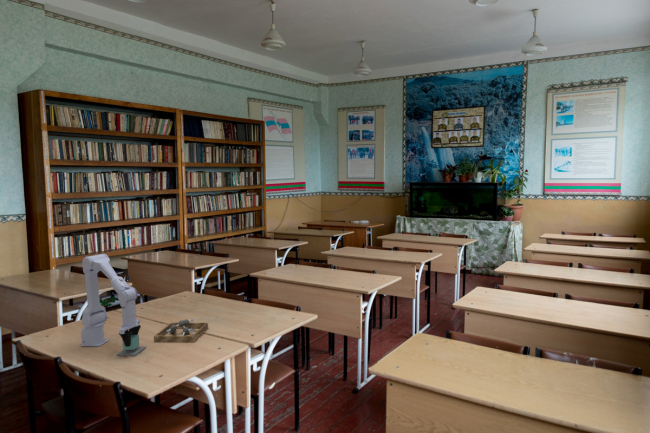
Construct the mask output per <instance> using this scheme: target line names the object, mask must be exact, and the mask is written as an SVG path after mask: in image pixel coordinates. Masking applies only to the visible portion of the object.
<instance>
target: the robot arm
mask: <svg viewBox="0 0 650 433" xmlns="http://www.w3.org/2000/svg"><path fill="white" fill-rule="evenodd" d="M81 265H82V271H83V273H84V282H85V290H86V292H85V293H86V300H87V302H86V303H87V307H86V308H85V309H84V310H83V311H82V318H81V322H82V323H81V324H82V325H83V326H82V328H81V332H80V338H81V345H80V346H81V347H100V346H101V347H102V345H103V344H105V343H107V342H108V341H109V338H108V339H107V338H106V339H105V327H104V325H105V324H106V322H107V320H108V314H107V311H106V307H104V306H102V305H101V302H100V301H101V300H100V299H101V298H100V288H99V281H98V280H99V279H98V273H99V272H102V273H103V274H104V275H105V277H107V279H109V280H110V286H111V287H112V289H113V290H114V291H115V292H116V294H117V299H118V302H119V305H120V307H121V318H122V325H121V327H120V329H119V330H118V335H119V336H120V337H121V339H122V343H123V342H124V344H125V346H126V347H129V346H130V345H131V336H132V335H139V332H140V329H141V324H140V323H141V320H140V319H139V318H137V310H136V309H137V308H136V300H137V298H138V296H139V295H138V294H139V293H138V290H137V289H136V288H135V287H133V286H131V285H129V284H128V283H127V282H126V280H125V279H124V278H123V277H122V276H118V274H117V272H116V271H115V270H114V268H113V266H112V265H111V259H110V257H109V256H108V254H106V253H100V254H96V255H95V254H94V255H90V256H89V255H88V256H85V257H84V258H83V259H82V264H81Z"/></svg>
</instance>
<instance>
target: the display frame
mask: <svg viewBox="0 0 650 433" xmlns="http://www.w3.org/2000/svg"><path fill="white" fill-rule="evenodd" d="M173 324H174V325H178V324H179V321H177V322H170V323H168V325H166V326H165V327H163V328H162V329H161V330H159V332H157V333H156V334H155V335H154V336H153V343H195V342H196V341H197V340H198V339H199V338H200V337H202V335H203V334H204V333H205V332H206V331H208V329H209V322H189V325H188V326H185V327H188V328H189V329H192V330H195V329H196V330H197V331H196V332H195V333H194V334H193V335H184V336H182V335H167V334H168V333H167V332H166V331H167V330H169V329H170V327H171V325H173ZM178 329H181V330H182V329H184V327H180V326H177V329H176V330H178ZM166 333H167V334H166Z"/></svg>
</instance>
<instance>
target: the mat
mask: <svg viewBox="0 0 650 433" xmlns="http://www.w3.org/2000/svg"><path fill="white" fill-rule="evenodd" d="M146 348H147V347H146V346H138V347H137V348H135V349H134V350H123V349H122V350H121V351H119V352H117V353H116V356H117V357H137V356H138V355H140V354H141V353H142V352H143V351H144V350H146Z"/></svg>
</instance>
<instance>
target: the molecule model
mask: <svg viewBox="0 0 650 433" xmlns="http://www.w3.org/2000/svg"><path fill="white" fill-rule="evenodd" d="M178 322H179V324H178V325H174V324H173V325H171V327H170V329H169V330H167V331H166V332H167V334H168V333H171V334H174V333H176V331H177V330H178V329H177V326H180V327H184V329H183V330H182V332H183V333H182V334H181V336H185V334H189V333H191V332H193V333H194V329H189V328H188V327H185V326H188V325H189V323H190V322H194V319H193V318H192V319H184V320H179V321H178Z"/></svg>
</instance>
